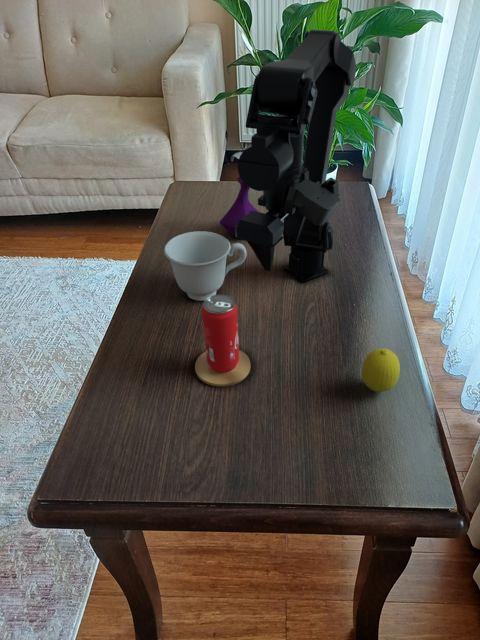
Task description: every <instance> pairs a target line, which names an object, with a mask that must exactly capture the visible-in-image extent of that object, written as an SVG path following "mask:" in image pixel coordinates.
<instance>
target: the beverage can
mask: <svg viewBox="0 0 480 640" xmlns="http://www.w3.org/2000/svg"><path fill="white" fill-rule="evenodd" d="M201 313H202V323H203V334H204V342H205V352H206V354H207V362H208V364H209V365H210V367H211V368H212V369H213V370H214V371H216V372H219V373H227V372H230V371H232V370H234V369H235V368H236V366H237V363H238V362H239V350H240V342H239V341H240V340H239V322H238V321H239V320H238V319H239V317H238V306H237V303H236V301H235V299H234V298H233V297H232V296H230V295H226V294H216V295H213V296H210V297H208V298H207V299H206V300H204V301H203V304H202V308H201Z"/></svg>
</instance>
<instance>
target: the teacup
mask: <svg viewBox="0 0 480 640" xmlns="http://www.w3.org/2000/svg"><path fill="white" fill-rule="evenodd" d="M236 250H239V251H241V255H240V257H239V258H237V259H235V261H232V262H231V263H229V264H227V257H233V255H234V252H235V251H236ZM163 252H164V255H165V256H166V258H167V259H168V260H169V261H170V264H171V268H172V271H173V275H174V278H175V281H176V283H177V285H178V287H179V289H180V290H182V291H183V292H184V293H186V295H187V297H188V298H190V300H194V301H198V302H199V301H200V302H201V301H202V302H204V301H205V300H206V299H207V298H208V297H210V296H213V295H217V291H218V290H219V289H220V288H221V287H222V285H224V282H225V276H227V274H228V273H229V272H230V271H231V270H234V269H235V268H238V267H239V266H241V265H243V263H245V261H246V258H247V249H246V247H245V245H244V244H242V243H240V242H236V243H233V244H232V245H231V243H230V241H229V239H227V238H226V237H225V236H223V235H222V234H219V233H216V232H212V231H202V230H201V231H200V230H197V231H189V232H184V233H182V234H178V235H176V236H174V237H172V238H171V239H170V240H169V241H168V242H166V244H165V246H164V249H163ZM226 264H227V265H226Z"/></svg>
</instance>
